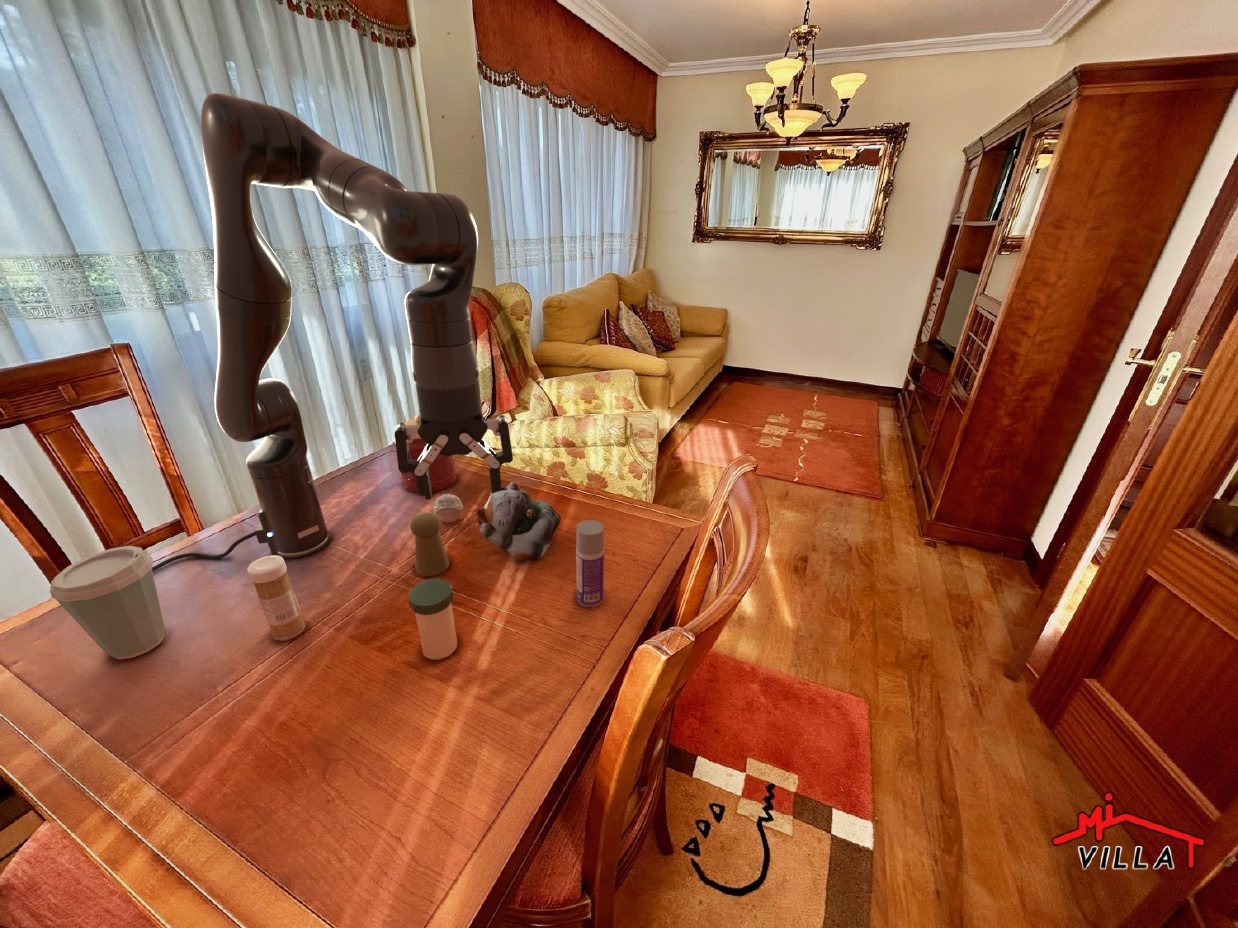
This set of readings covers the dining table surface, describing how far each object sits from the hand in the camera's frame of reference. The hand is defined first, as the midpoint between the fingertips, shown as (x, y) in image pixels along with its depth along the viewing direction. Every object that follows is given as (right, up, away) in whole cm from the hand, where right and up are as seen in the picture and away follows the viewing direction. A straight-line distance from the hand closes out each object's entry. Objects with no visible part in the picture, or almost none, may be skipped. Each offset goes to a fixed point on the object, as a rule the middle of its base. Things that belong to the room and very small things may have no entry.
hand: (461, 493), depth 68 cm
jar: (-6, -24, +9) cm, 27 cm away
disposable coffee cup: (-52, -23, +8) cm, 58 cm away
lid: (-6, -15, +5) cm, 17 cm away
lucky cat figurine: (+2, -13, +34) cm, 36 cm away
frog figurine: (-15, -9, +41) cm, 44 cm away
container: (+16, -20, +20) cm, 33 cm away
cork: (-14, -16, +27) cm, 34 cm away
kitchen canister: (-26, 0, +56) cm, 62 cm away
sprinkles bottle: (-31, -23, +11) cm, 40 cm away
